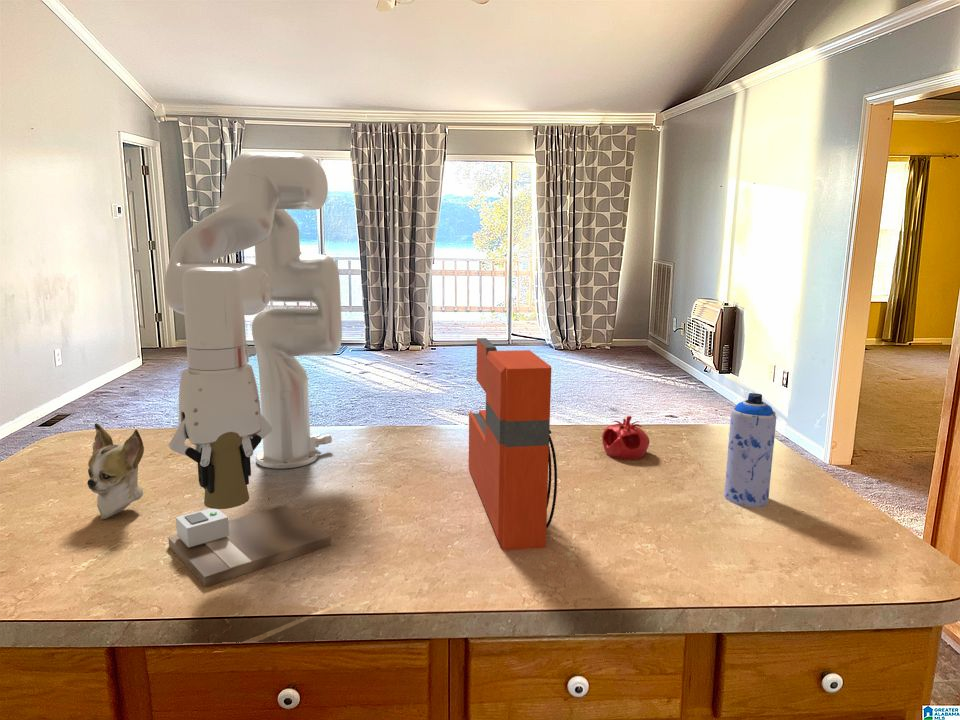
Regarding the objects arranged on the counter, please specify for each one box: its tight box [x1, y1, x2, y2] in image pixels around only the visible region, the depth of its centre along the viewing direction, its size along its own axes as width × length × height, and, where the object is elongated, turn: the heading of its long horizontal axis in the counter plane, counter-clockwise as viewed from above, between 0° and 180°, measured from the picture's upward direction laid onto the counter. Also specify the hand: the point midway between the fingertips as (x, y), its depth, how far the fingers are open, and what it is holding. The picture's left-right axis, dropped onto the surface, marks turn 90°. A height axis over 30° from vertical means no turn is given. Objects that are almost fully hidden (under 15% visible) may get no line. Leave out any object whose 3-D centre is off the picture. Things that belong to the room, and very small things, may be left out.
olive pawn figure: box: [203, 432, 250, 510], centre depth 93 cm, size 6×6×11 cm
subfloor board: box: [167, 504, 332, 588], centre depth 102 cm, size 19×16×2 cm
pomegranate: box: [601, 415, 650, 460], centre depth 143 cm, size 10×10×9 cm
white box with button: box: [175, 508, 229, 548], centre depth 101 cm, size 6×5×3 cm
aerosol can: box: [723, 392, 777, 508], centre depth 119 cm, size 8×8×20 cm
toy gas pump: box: [468, 337, 558, 551], centre depth 116 cm, size 9×35×28 cm, turn 10°
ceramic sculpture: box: [87, 422, 145, 520], centre depth 111 cm, size 11×9×15 cm
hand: (225, 484), depth 94 cm, fingers closed on olive pawn figure, 4 cm apart
